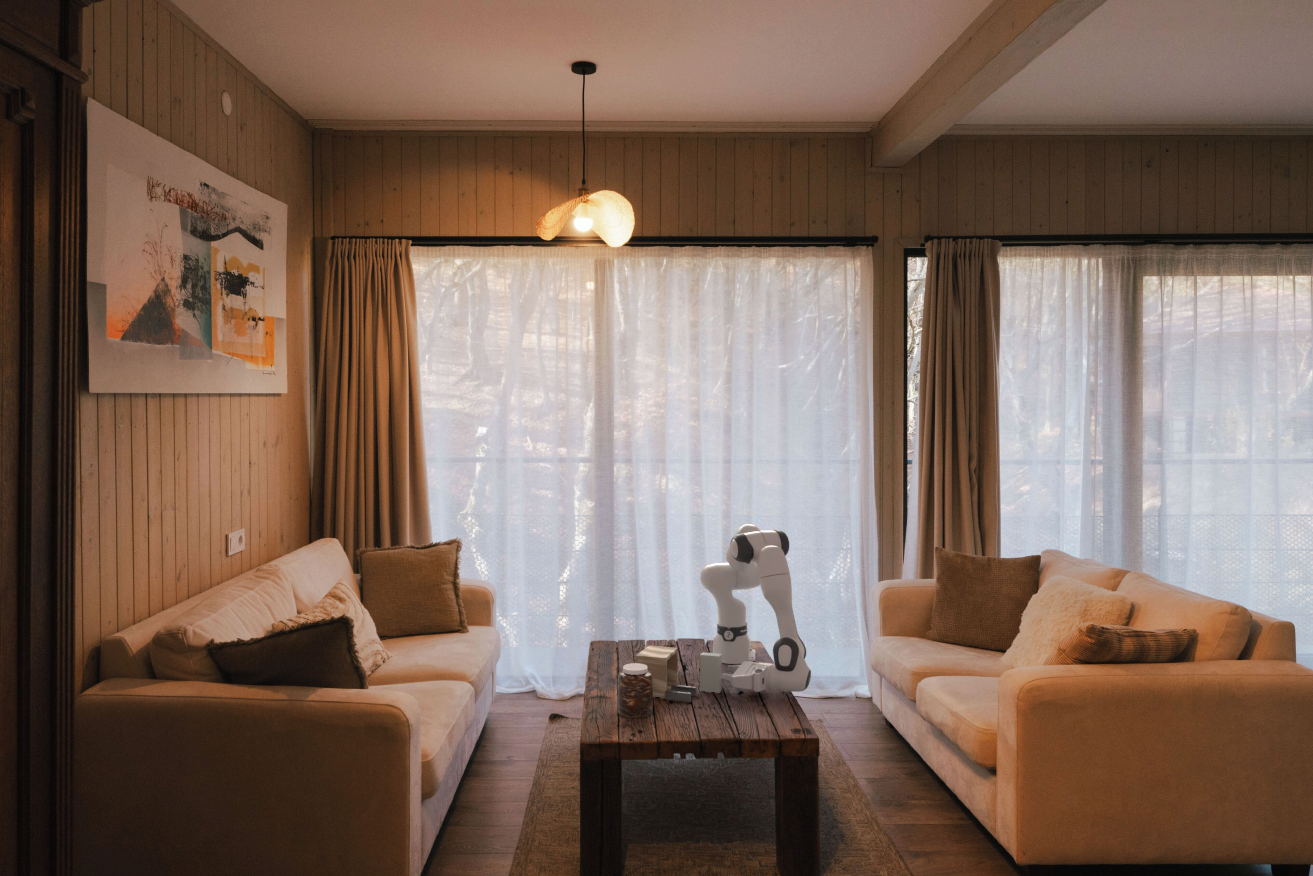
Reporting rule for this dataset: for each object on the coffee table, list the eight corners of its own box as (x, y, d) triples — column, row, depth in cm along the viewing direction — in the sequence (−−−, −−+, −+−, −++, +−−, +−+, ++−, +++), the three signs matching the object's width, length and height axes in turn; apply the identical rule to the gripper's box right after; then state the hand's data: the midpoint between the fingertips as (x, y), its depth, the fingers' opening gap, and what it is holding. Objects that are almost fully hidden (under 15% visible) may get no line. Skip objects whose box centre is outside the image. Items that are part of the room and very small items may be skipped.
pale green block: (702, 688, 300) (702, 652, 300) (721, 690, 298) (721, 653, 298) (700, 691, 297) (700, 654, 296) (719, 693, 294) (719, 656, 294)
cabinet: (649, 683, 306) (648, 645, 305) (678, 686, 302) (677, 647, 302) (636, 695, 292) (635, 655, 292) (666, 698, 289) (666, 658, 289)
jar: (660, 710, 277) (660, 665, 277) (639, 721, 267) (639, 674, 267) (631, 704, 283) (631, 659, 283) (610, 713, 274) (610, 668, 274)
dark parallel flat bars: (671, 693, 295) (671, 684, 295) (696, 695, 292) (696, 687, 292) (665, 699, 288) (665, 691, 287) (690, 702, 285) (690, 693, 285)
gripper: (768, 658, 301) (730, 655, 306) (757, 674, 282) (717, 671, 286) (768, 676, 301) (731, 672, 306) (757, 693, 282) (717, 689, 286)
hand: (724, 672), depth 296 cm, fingers open, 8 cm apart
